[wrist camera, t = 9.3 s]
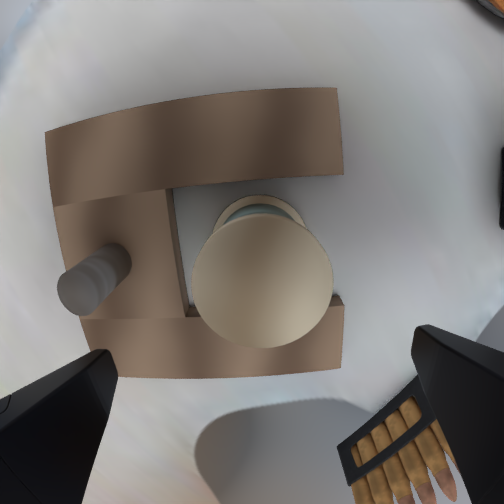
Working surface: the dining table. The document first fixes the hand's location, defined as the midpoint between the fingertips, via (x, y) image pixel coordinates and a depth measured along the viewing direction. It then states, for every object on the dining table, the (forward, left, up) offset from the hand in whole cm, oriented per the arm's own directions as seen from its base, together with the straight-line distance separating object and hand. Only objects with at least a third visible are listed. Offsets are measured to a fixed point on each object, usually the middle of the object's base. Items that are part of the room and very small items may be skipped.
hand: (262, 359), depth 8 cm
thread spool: (0, 0, -12) cm, 12 cm away
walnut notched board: (+4, 0, -12) cm, 13 cm away
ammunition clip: (-10, +17, -12) cm, 23 cm away
